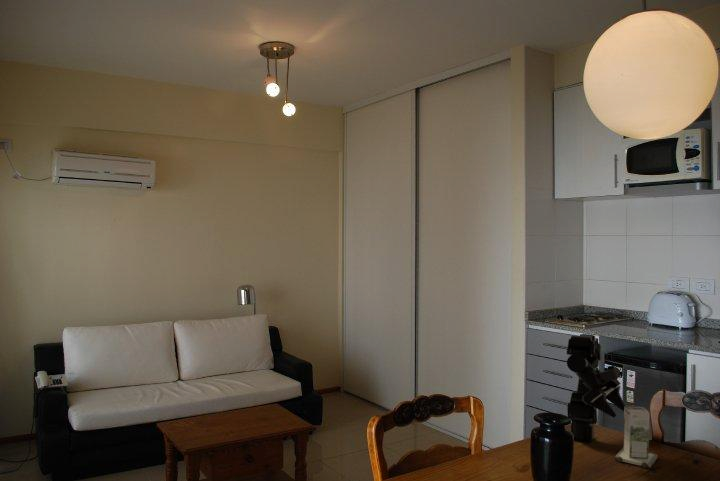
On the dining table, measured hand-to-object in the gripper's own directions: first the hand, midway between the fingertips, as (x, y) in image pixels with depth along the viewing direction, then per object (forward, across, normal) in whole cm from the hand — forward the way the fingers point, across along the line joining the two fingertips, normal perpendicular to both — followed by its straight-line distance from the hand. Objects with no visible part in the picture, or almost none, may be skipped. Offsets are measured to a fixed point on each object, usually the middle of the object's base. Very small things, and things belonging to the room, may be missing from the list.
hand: (620, 413), depth 185 cm
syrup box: (+12, 0, +5) cm, 13 cm away
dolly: (+13, 0, +6) cm, 14 cm away
